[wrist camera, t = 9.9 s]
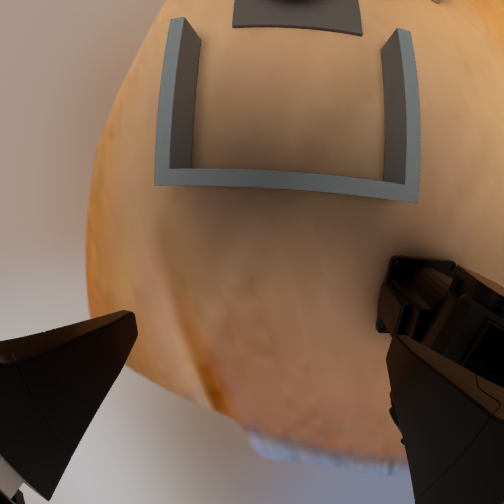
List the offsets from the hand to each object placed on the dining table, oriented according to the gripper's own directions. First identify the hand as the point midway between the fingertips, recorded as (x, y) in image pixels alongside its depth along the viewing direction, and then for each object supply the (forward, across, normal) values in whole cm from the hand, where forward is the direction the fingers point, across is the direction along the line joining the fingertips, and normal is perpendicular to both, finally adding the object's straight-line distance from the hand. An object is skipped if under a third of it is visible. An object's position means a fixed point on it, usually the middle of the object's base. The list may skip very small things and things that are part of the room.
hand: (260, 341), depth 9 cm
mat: (+12, -1, -22) cm, 25 cm away
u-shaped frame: (+12, 0, -11) cm, 16 cm away
